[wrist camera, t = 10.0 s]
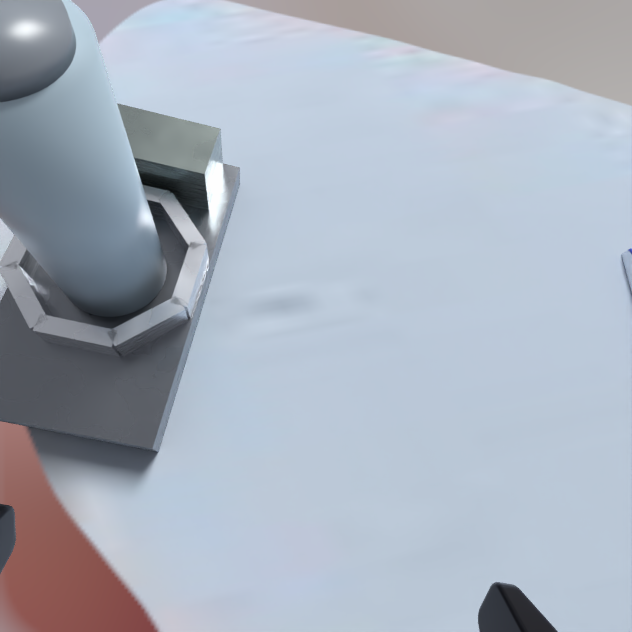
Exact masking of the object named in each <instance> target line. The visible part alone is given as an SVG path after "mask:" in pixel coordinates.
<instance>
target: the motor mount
mask: <svg viewBox="0 0 632 632" xmlns="http://www.w3.org/2000/svg"><path fill="white" fill-rule="evenodd" d="M117 105H118V108H119V111H120V115H121V118H122V121H123V124H124V128H125V131H126V134H127V137H128V140H129V144H130V147H131V150H132V153H133V156H134V160H135V163H136V166H137V169H138V173H139V176H140V179H141V182H142V185H143V189H144V192H145V195H146V198H147V201H148V205H149V208H150V211H151V214H152V217H153V221H154V224H155V227H156V230H157V234H158V237H159V240H160V243H161V246H162V250H163V253H164V256H165V260H166V265H167V274H166V279H165V282H164V285H163V287H162V289H161V290H160V292H159V293H158V295H157V296H156V297H155V298H154V299H153V300H152V301H151V302H150V303H149V304H147V305H146V306H144V307H143V308H141V309H139V310H137V311H135V312H133V313H130V314H127V315H123V316H116V317H103V316H97V315H93V314H90V313H87V312H85V311H83V310H81V309H80V308H78V307H77V306H75V305H74V304H73V303H72V302H71V301H70V300H69V298H68V297H67V296H66V295H65V294H64V293H63V291H62V290H61V289H60V288H59V287H58V285H57V284H56V283H55V282H54V281H53V280H52V278H51V277H50V276H49V275H48V274H47V272H46V271H45V270H44V269H43V268H42V267H41V265H40V264H39V263H38V262H37V261H36V259H35V258H34V257H33V256H32V255H31V254H30V252H29V251H28V250H27V249H26V248H25V246H24V245H23V244H22V243H21V242H20V241H19V239H18V238H17V237H16V236H15V235H14V237H13V239H12V240H11V242H10V244H9V246H8V248H7V250H6V252H5V254H4V256H3V258H2V260H1V261H0V273H1V275H2V277H3V279H4V280H5V282H6V284H7V286H8V288H7V290H6V292H5V294H4V296H3V298H2V300H1V302H0V421H3V422H8V423H13V424H19V425H23V426H28V427H33V428H38V429H43V430H49V431H54V432H59V433H64V434H69V435H74V436H79V437H84V438H89V439H94V440H99V441H104V442H110V443H115V444H120V445H125V446H130V447H135V448H140V449H145V450H150V451H155V452H159V448H160V445H161V442H162V438H163V435H164V432H165V429H166V425H167V422H168V419H169V415H170V412H171V409H172V406H173V402H174V399H175V396H176V392H177V389H178V386H179V382H180V379H181V376H182V373H183V369H184V366H185V363H186V359H187V356H188V353H189V350H190V346H191V343H192V340H193V336H194V333H195V330H196V327H197V323H198V320H199V317H200V313H201V310H202V307H203V304H204V300H205V297H206V294H207V290H208V287H209V284H210V281H211V277H212V274H213V271H214V267H215V264H216V261H217V257H218V254H219V251H220V248H221V244H222V241H223V238H224V234H225V231H226V228H227V225H228V221H229V218H230V215H231V211H232V208H233V205H234V202H235V198H236V195H237V192H238V188H239V185H240V168H239V167H235V166H231V165H227V164H223V162H222V147H221V132H220V129H219V128H215V127H211V126H207V125H203V124H199V123H195V122H191V121H187V120H182V119H178V118H174V117H170V116H166V115H162V114H158V113H154V112H150V111H146V110H142V109H138V108H133V107H129V106H125V105H121V104H117Z"/></svg>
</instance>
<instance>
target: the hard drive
mask: <svg viewBox="0 0 632 632" xmlns="http://www.w3.org/2000/svg"><path fill="white" fill-rule="evenodd" d="M622 258H623V262H624V266H625V269H626V273H627V277H628V281H629V284H630V288H631V292H632V249H629V250H627V251H626V252H624V253H623V254H622Z"/></svg>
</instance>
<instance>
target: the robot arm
mask: <svg viewBox="0 0 632 632" xmlns="http://www.w3.org/2000/svg"><path fill="white" fill-rule="evenodd" d="M15 541H16V532H15V513H14V509H13V508H12V506H9V505H3V504H0V573H1V571H2V570H3V568H4V566H5V564H6V562H7V560H8V559H9V557H10V555H11V553H12V551H13V548H14V545H15ZM478 624H479V630H480V632H558V631H557V630H556V629H555V628H554V627H553V626H552V625H551V624H550V622H549V621H548V620H547V619H546V618H545V617H544V616H543V615H542V614H541V612H540V611H539V610H538V609H537V608H536V607H535V606H534V605H533V603H532V602H531V601H530V600H529V599H528V598H527V597H526V596H525V595H524V593H523V592H522V591H521V590H520V589H519V588H518V587H516V586H515V585H512V584H506V583H500V582H495V583H494V584H492V585H491V587H490V589H489V591H488V593H487V595H486V597H485V599H484V601H483V603H482V605H481V607H480V609H479V614H478Z"/></svg>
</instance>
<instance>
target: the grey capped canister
mask: <svg viewBox="0 0 632 632" xmlns="http://www.w3.org/2000/svg"><path fill="white" fill-rule="evenodd" d="M0 218H1V219H2V221H3V222H4V223H5V224H6V225H7V226H8V228H9V229H10V230H11V231H12V232H13V234H14V235H15V236H16V237H17V238H18V239H19V241H20V242H21V243H22V244H23V245H24V246H25V248H26V249H27V250H28V251H29V252H30V254H31V255H32V256H33V257H34V258H35V259H36V261H37V262H38V263H39V264H40V265H41V267H42V268H43V269H44V270H45V271H46V272H47V274H48V275H49V276H50V277H51V278H52V280H53V281H54V282H55V283H56V284H57V285H58V287H59V288H60V289H61V290H62V291H63V293H64V294H65V295H66V296H67V297H68V298H69V300H70V301H71V302H72V303H73V304H74V305H75V306H77V307H78V308H80V309H81V310H83V311H85V312H87V313H90V314H93V315H97V316H103V317H116V316H123V315H127V314H130V313H133V312H135V311H137V310H139V309H141V308H143V307H144V306H146V305H147V304H149V303H150V302H151V301H152V300H153V299H154V298H155V297H156V296H157V295H158V293H159V292H160V290H161V289H162V287H163V285H164V282H165V279H166V274H167V265H166V260H165V256H164V253H163V250H162V246H161V243H160V240H159V237H158V234H157V230H156V227H155V224H154V221H153V217H152V214H151V211H150V208H149V205H148V201H147V198H146V195H145V192H144V189H143V185H142V182H141V179H140V176H139V173H138V169H137V166H136V163H135V160H134V156H133V153H132V150H131V147H130V144H129V140H128V137H127V134H126V131H125V128H124V124H123V121H122V118H121V115H120V111H119V108H118V105H117V102H116V99H115V95H114V92H113V89H112V86H111V83H110V79H109V76H108V73H107V70H106V67H105V63H104V60H103V57H102V54H101V50H100V47H99V44H98V41H97V38H96V34H95V31H94V29H93V26H92V24H91V22H90V21H89V19H88V18H87V16H86V15H85V14H84V13H83V11H82V10H81V9H80V8H79V7H78V6H76V5H75V4H74V3H73V2H72V1H71V0H0Z"/></svg>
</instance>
